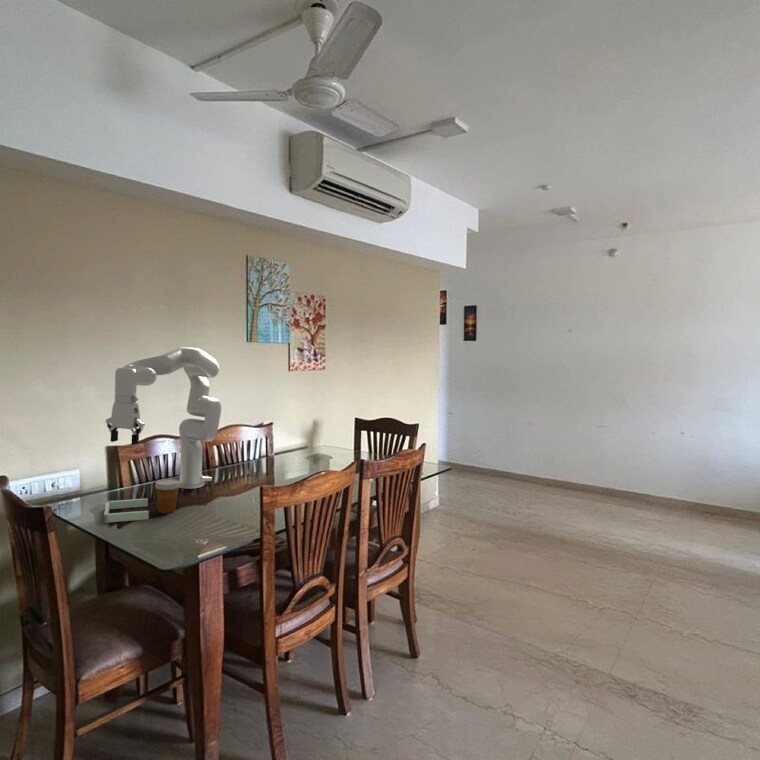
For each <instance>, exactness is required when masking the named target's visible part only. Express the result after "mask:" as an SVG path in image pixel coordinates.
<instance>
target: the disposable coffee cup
mask: <svg viewBox="0 0 760 760" xmlns="http://www.w3.org/2000/svg"><path fill="white" fill-rule="evenodd" d="M179 481H180V479H176V478H162V479H159V480H157V481H156V482H155V484H154V487H155V489H156V490H155V491H156V499H157V509H158V512H159V513H160V514H170V513H173V512H176V508H177V507H176V506H177V501H178V495H179V494H178V493H179V490H180V488H179V486H180V483H179Z"/></svg>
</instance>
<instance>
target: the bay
mask: <svg viewBox="0 0 760 760" xmlns="http://www.w3.org/2000/svg"><path fill="white" fill-rule="evenodd" d="M148 506H149V498H136V499H135V498H134V499H133V498H132V499H120V500H119V499H118V500H106V501H105V508H104V512H103V513H104V514H103V523H104V524H106V523H107V524H108V523H117V522H130V521H141V520H149V517H150V515H149V514H150V513H149V512H150V510H138V511H125V512H113V513H112V512H111V513H110V510H117V509H129V508H143V507H144V508H145V507H148Z"/></svg>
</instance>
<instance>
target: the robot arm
mask: <svg viewBox="0 0 760 760" xmlns="http://www.w3.org/2000/svg"><path fill="white" fill-rule="evenodd" d="M180 369H183V370H184V373H185V374H186V376H187V377H188V379H189V383H190V388H189V389H190V390H189V393H188V394H189V395H188V399H187V405H186V411H187V413H188V415H190V416H194V417H199V418H200V417H201V418H204V419H198V418H186V419H184V420H182V421H181V422H180V425H179V428H178V432H179V433H178V434H179V438H180V468H179V470H180V472H179V473H180V474H179V483H180V486H179V489H183V490H184V489H185V490H187V489H188V490H189V489H190V490H192V489H193V490H194V489H198V488H202V487H204V486H205V484H206V482H211V481H212V480H213V477H212V476H209V475H205V476H204V475H203V473H202V470H203V444H202V442H212V441H213V440H214V439H216V437H217V435H218V430H219V424H220V419H221V414H222V404H221V401H220V400H219V399H217V398H215V397H210V396H209V395H210V383H209V380H208V378H215V377H216V376H217V375H218V374H219V373H220V366H219V363H218V362H217V360H216V359H215V358H214V357H212V356H211V355H209V354H208V353H207V352H206V351H204V350H202V349H200V348H196V347H178V348H175V349H172V350H170V351H168V352H166V353H164V354H161V355H157V356H152V357H149V358H144V359H139V360H136V361H133V362H130V363H128V364H126V365H124V366H123V367H118V368H116V370H115V371H114V372H115V373H114V378H115V379H114V402H113V405H112V407H111V408H112V409H111V416H110V417H109V418H106V419H105V423H106V426H107V428H108V431H109V432H110V442H111V443H115V442H117V441H118V440H119V429H123V430H130V431H131V433H132V434H131V445H133V446H135V445H137V444H140V442H139V441H140V434H141V433H142V431H144V428H145V426H146V424H145V422H143V421H142V420H141V414H140V407H139V403H138V400H139V398H138V397H137V386H145V387H148V386H151V385H153V384H154V383H155V382H156V380H157V377H158V376H163V375H164V376H165V375H170V374H172V373H174V372H176V371H178V370H180ZM201 441H202V442H201Z"/></svg>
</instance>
